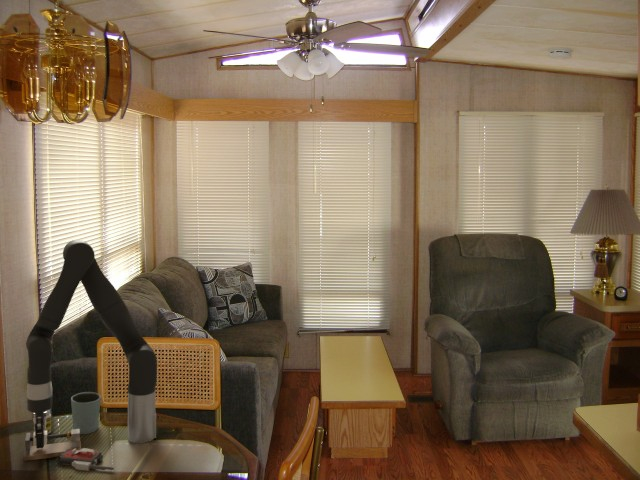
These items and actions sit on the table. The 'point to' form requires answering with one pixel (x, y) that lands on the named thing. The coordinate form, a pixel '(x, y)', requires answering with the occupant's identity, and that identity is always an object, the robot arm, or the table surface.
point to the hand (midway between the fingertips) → (40, 444)
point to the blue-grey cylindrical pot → (85, 411)
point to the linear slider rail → (52, 446)
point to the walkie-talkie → (82, 459)
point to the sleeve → (44, 438)
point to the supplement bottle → (48, 422)
